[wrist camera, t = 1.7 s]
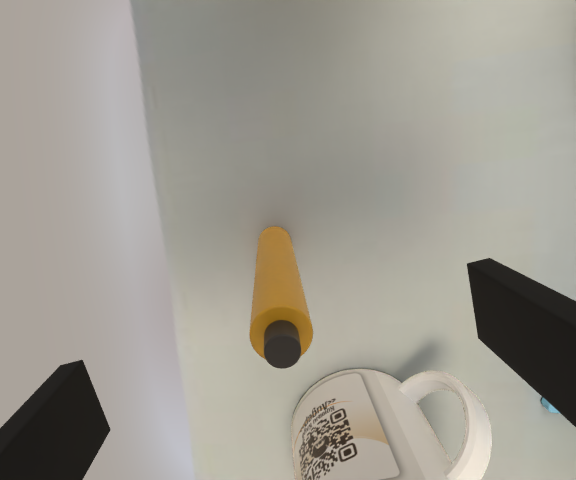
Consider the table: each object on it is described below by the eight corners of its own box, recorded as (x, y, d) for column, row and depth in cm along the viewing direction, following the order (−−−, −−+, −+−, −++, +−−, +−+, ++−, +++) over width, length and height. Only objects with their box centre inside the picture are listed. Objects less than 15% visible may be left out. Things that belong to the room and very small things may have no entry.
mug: (275, 375, 30) (280, 505, 19) (437, 338, 30) (533, 447, 19) (305, 492, 32) (325, 666, 22) (455, 458, 32) (549, 615, 22)
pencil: (254, 230, 27) (239, 329, 13) (286, 222, 27) (308, 312, 13) (262, 261, 28) (258, 390, 13) (294, 253, 28) (323, 374, 13)
